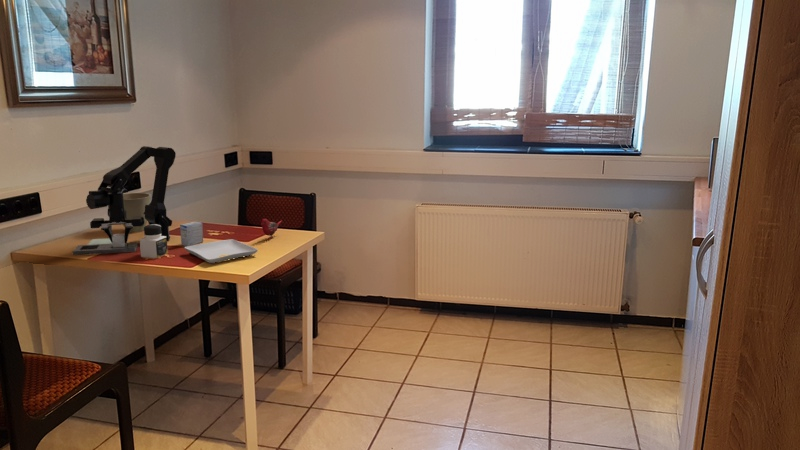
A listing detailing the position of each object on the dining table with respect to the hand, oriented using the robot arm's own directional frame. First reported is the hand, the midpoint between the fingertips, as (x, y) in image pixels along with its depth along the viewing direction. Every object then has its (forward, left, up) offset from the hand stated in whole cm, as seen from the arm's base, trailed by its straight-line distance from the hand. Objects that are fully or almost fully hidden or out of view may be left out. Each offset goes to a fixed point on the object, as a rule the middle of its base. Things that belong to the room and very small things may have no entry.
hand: (119, 243), depth 234 cm
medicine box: (-27, -4, -3) cm, 27 cm away
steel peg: (0, 0, -2) cm, 2 cm away
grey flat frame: (+5, 0, -3) cm, 6 cm away
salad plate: (-39, +16, -3) cm, 42 cm away
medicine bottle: (-14, +11, -3) cm, 18 cm away
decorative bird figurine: (-60, -7, -3) cm, 60 cm away
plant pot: (-1, -32, -3) cm, 32 cm away
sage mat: (+7, -12, -3) cm, 14 cm away
